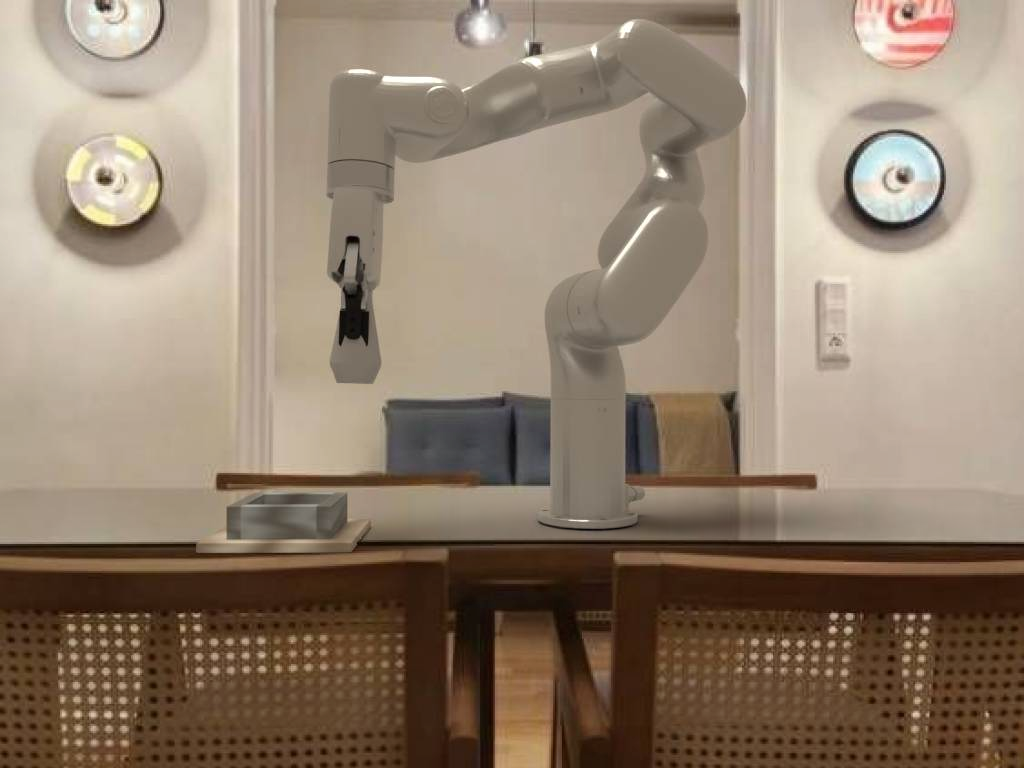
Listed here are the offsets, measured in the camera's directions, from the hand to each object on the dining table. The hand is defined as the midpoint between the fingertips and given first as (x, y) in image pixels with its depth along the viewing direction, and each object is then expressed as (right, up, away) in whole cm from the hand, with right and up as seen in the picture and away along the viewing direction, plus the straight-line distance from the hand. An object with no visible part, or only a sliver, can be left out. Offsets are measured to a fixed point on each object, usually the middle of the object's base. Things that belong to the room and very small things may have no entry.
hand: (355, 346), depth 95 cm
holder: (-7, -22, 0) cm, 23 cm away
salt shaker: (0, -4, 0) cm, 4 cm away
